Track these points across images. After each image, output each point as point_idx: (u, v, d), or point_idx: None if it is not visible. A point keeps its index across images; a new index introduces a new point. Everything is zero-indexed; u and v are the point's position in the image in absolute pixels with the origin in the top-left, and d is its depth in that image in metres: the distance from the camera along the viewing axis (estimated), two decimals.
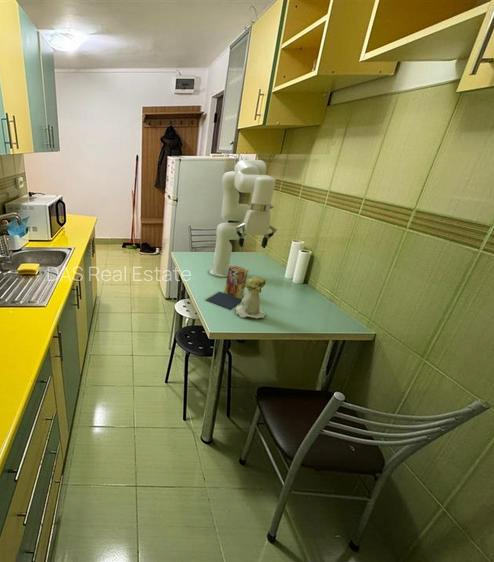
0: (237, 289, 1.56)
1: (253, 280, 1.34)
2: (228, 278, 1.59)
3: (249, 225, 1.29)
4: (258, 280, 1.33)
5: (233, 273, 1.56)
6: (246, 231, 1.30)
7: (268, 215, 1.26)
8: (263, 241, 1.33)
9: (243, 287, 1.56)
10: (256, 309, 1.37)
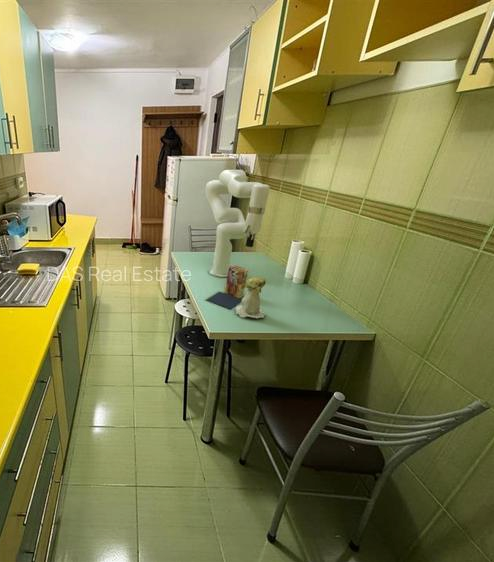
0: (237, 289, 1.56)
1: (253, 280, 1.34)
2: (228, 278, 1.59)
3: (254, 226, 1.48)
4: (258, 280, 1.33)
5: (233, 273, 1.56)
6: (252, 232, 1.48)
7: (262, 215, 1.50)
8: None
9: (243, 287, 1.56)
10: (256, 309, 1.37)
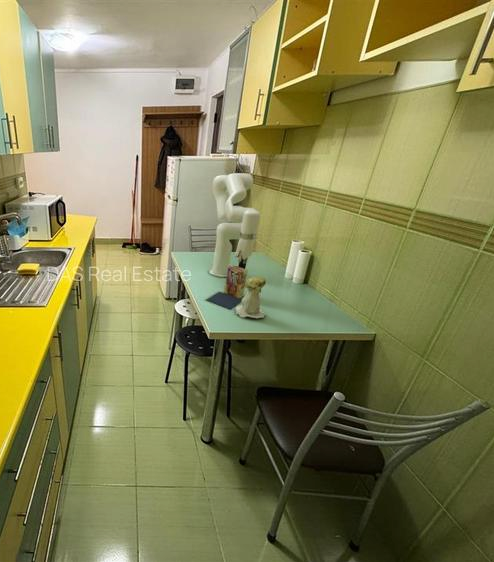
0: (237, 289, 1.56)
1: (253, 280, 1.34)
2: (228, 279, 1.58)
3: (246, 252, 1.49)
4: (258, 280, 1.33)
5: (232, 273, 1.55)
6: (244, 257, 1.50)
7: (253, 240, 1.52)
8: None
9: (243, 287, 1.55)
10: (256, 309, 1.37)
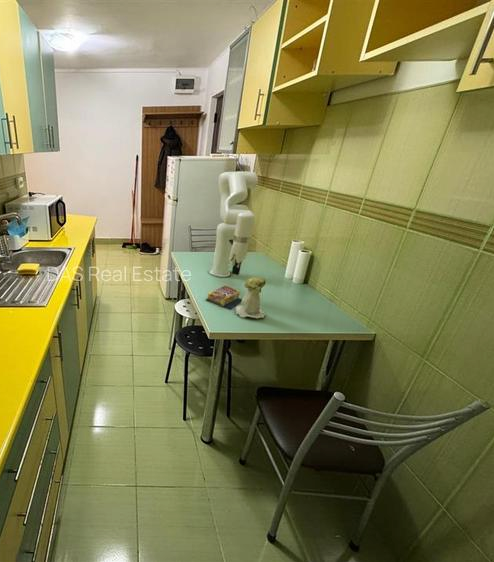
0: None
1: (253, 280, 1.34)
2: None
3: (240, 255, 1.45)
4: (258, 280, 1.33)
5: None
6: (238, 261, 1.46)
7: None
8: None
9: (233, 297, 1.52)
10: (256, 309, 1.37)
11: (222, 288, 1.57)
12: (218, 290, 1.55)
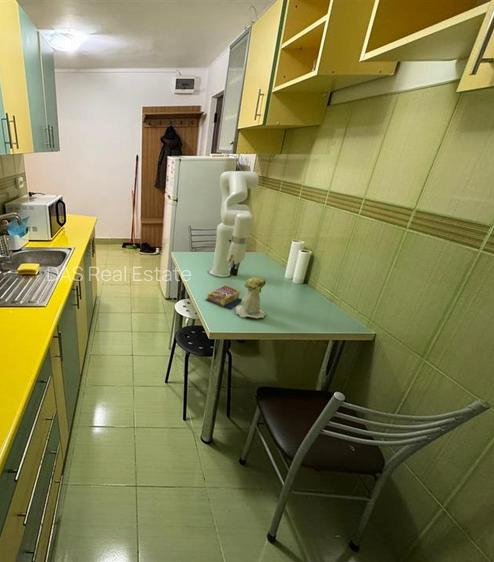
0: None
1: (253, 280, 1.34)
2: None
3: (238, 256, 1.44)
4: (258, 280, 1.33)
5: None
6: (236, 262, 1.45)
7: None
8: None
9: (233, 297, 1.52)
10: (256, 309, 1.37)
11: (222, 288, 1.57)
12: (218, 290, 1.55)
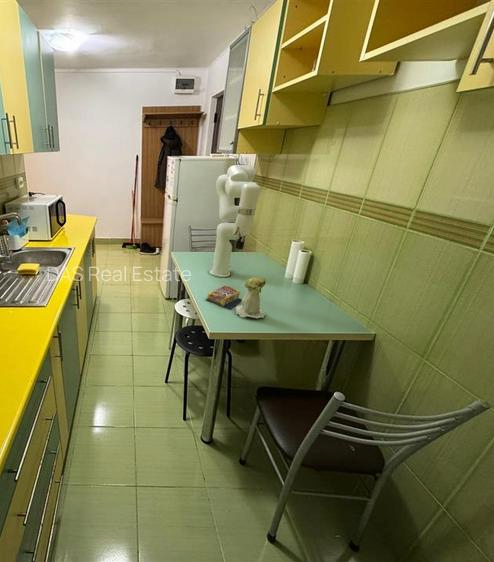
0: None
1: (253, 280, 1.34)
2: None
3: (244, 228, 1.42)
4: (258, 280, 1.33)
5: None
6: (242, 234, 1.43)
7: (252, 217, 1.45)
8: None
9: (233, 297, 1.52)
10: (256, 309, 1.37)
11: (222, 288, 1.57)
12: (218, 290, 1.55)
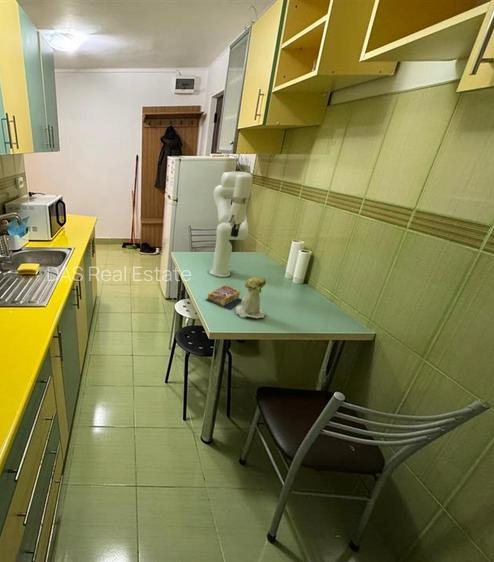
0: None
1: (253, 280, 1.34)
2: None
3: (238, 216, 1.50)
4: (258, 280, 1.33)
5: None
6: (236, 222, 1.51)
7: (246, 205, 1.53)
8: None
9: (233, 297, 1.52)
10: (256, 309, 1.37)
11: (222, 288, 1.57)
12: (218, 290, 1.55)
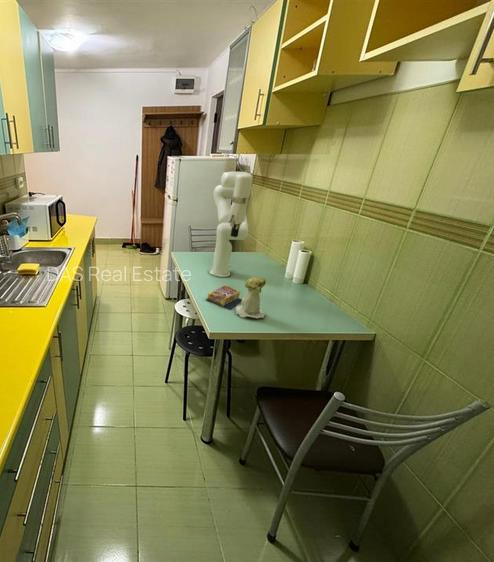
0: None
1: (253, 280, 1.34)
2: None
3: (238, 216, 1.50)
4: (258, 280, 1.33)
5: None
6: (236, 222, 1.51)
7: (246, 205, 1.53)
8: None
9: (233, 297, 1.52)
10: (256, 309, 1.37)
11: (222, 288, 1.57)
12: (218, 290, 1.55)
